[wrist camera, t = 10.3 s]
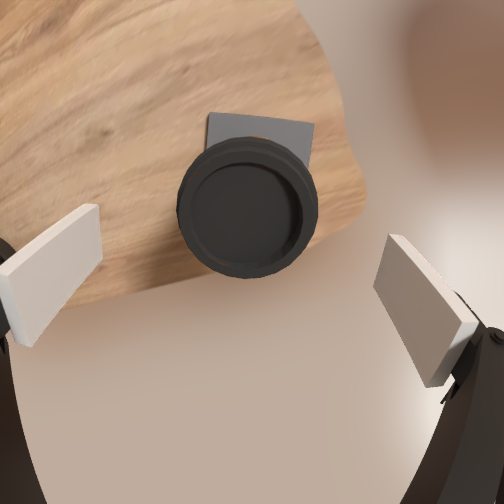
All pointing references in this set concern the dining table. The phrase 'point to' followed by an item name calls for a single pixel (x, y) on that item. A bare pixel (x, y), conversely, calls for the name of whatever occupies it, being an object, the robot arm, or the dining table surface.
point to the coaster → (263, 131)
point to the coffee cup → (247, 207)
